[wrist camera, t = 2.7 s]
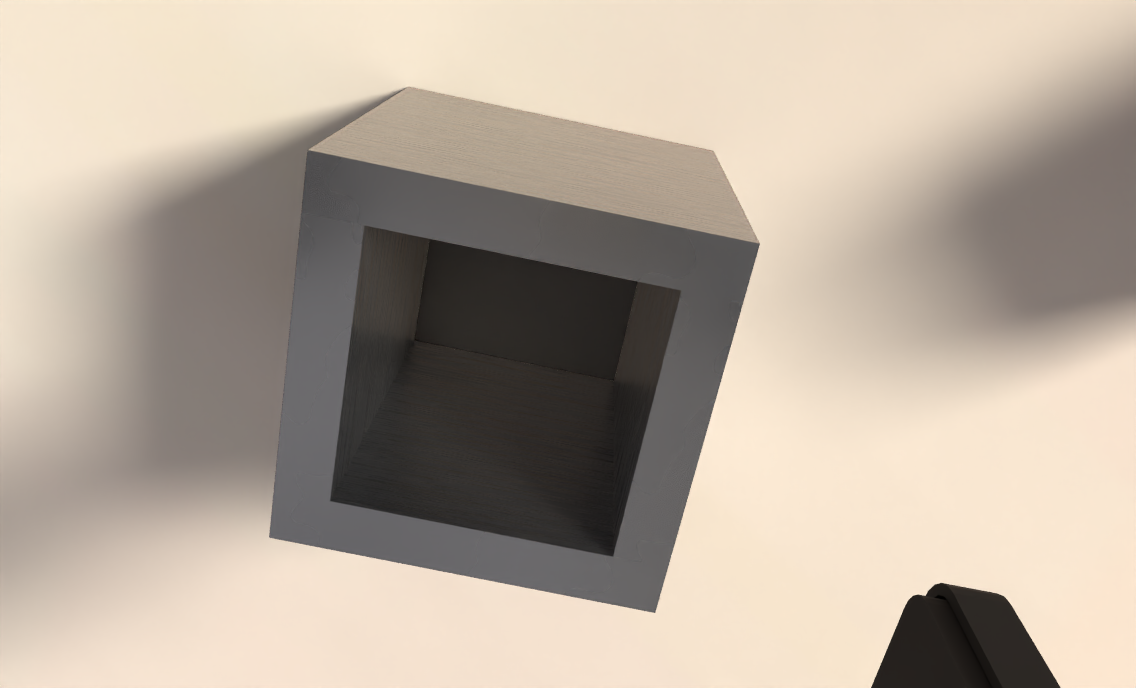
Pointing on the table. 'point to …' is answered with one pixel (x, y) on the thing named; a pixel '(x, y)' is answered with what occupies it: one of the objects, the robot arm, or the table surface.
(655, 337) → the hollow square tube
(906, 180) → the table surface
